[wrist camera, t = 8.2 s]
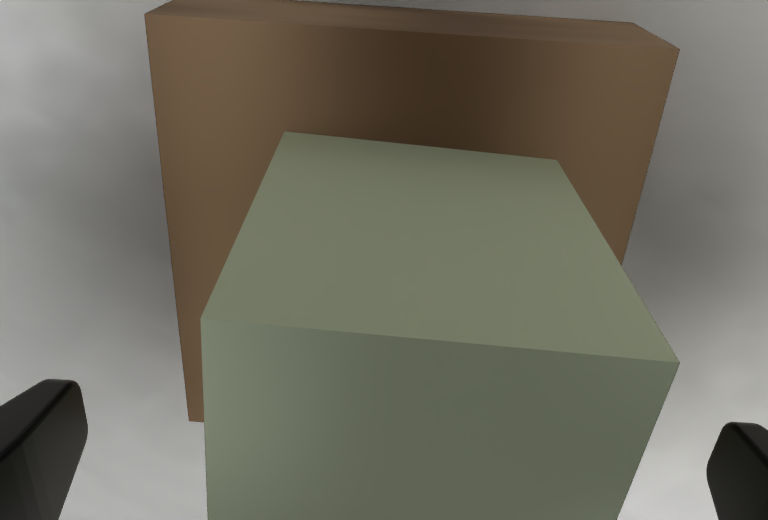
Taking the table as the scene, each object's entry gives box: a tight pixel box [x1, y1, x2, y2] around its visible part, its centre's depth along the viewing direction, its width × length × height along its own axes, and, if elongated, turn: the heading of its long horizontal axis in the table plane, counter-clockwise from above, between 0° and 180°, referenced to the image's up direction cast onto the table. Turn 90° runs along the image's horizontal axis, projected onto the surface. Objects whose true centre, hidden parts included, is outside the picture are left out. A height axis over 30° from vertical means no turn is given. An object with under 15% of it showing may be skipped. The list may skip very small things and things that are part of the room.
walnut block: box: [144, 0, 680, 422], centre depth 15 cm, size 9×9×3 cm
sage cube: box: [200, 131, 680, 520], centre depth 11 cm, size 5×5×6 cm
